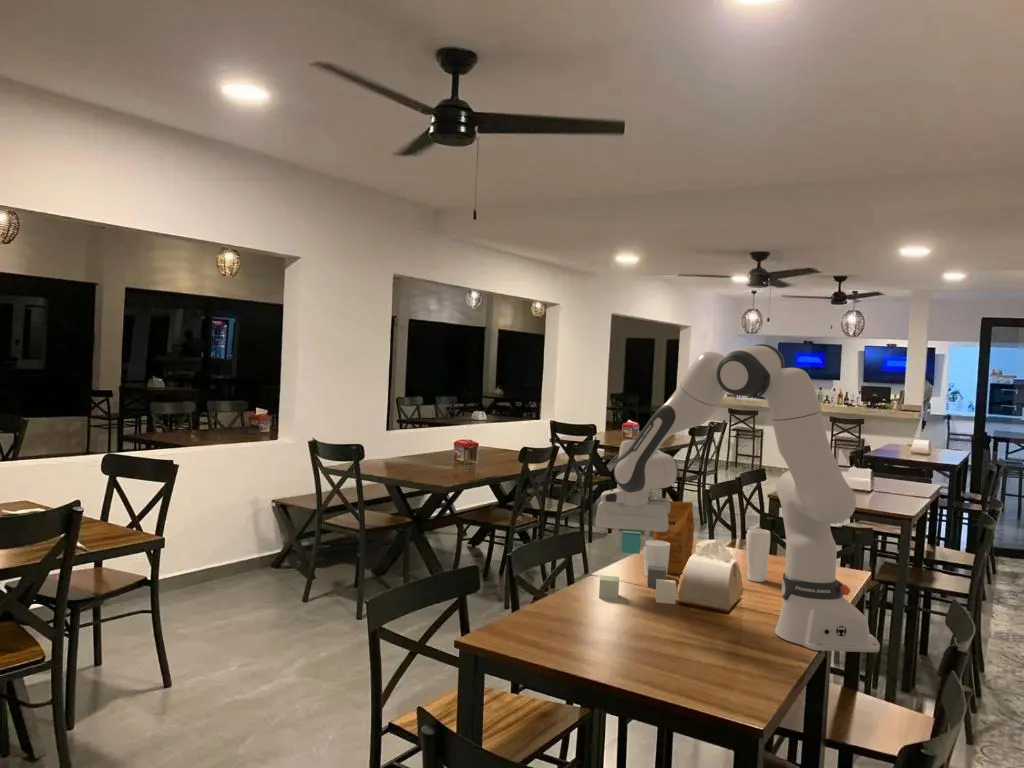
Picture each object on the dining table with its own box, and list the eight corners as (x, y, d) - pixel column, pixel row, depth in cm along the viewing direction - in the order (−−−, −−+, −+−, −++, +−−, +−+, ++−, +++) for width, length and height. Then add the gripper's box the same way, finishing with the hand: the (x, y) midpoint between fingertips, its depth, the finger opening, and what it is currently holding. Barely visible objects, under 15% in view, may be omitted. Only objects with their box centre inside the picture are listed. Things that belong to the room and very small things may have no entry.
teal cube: (639, 549, 214) (640, 532, 214) (639, 553, 210) (640, 535, 210) (621, 548, 215) (622, 530, 215) (621, 552, 210) (622, 534, 210)
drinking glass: (771, 583, 226) (773, 533, 225) (748, 582, 226) (750, 532, 225) (764, 577, 232) (766, 528, 232) (741, 576, 232) (744, 527, 232)
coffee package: (660, 563, 245) (663, 495, 244) (696, 571, 237) (699, 500, 237) (645, 569, 237) (648, 498, 237) (682, 577, 229) (686, 504, 229)
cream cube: (674, 599, 206) (675, 580, 206) (675, 604, 201) (676, 585, 201) (655, 597, 207) (656, 579, 207) (656, 602, 202) (656, 583, 202)
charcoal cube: (664, 583, 221) (665, 566, 221) (665, 588, 216) (666, 570, 216) (647, 582, 222) (648, 565, 222) (647, 586, 217) (648, 569, 217)
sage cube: (618, 595, 207) (619, 576, 207) (617, 600, 202) (618, 581, 202) (599, 593, 208) (600, 575, 208) (598, 598, 203) (599, 579, 203)
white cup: (649, 571, 234) (650, 538, 234) (673, 576, 230) (674, 543, 230) (637, 576, 228) (639, 542, 228) (662, 581, 223) (663, 547, 223)
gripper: (670, 496, 214) (668, 545, 214) (597, 491, 217) (595, 540, 217) (671, 500, 207) (669, 550, 208) (595, 495, 211) (594, 545, 211)
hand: (630, 545), depth 212 cm, fingers closed on teal cube, 5 cm apart
